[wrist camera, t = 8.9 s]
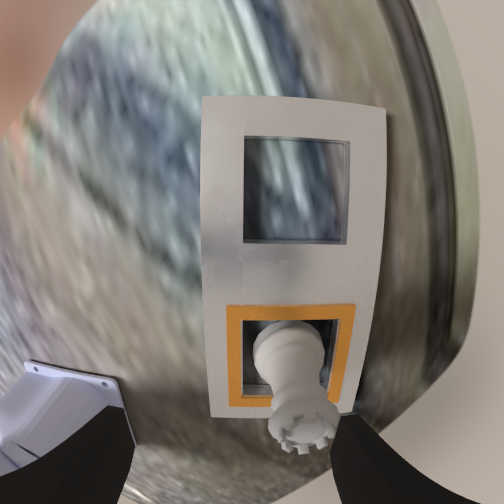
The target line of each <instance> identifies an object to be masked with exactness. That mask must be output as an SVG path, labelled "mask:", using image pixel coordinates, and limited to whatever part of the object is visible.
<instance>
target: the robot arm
mask: <svg viewBox="0 0 504 504" xmlns="http://www.w3.org/2000/svg"><path fill="white" fill-rule="evenodd" d="M24 366H25V369H26V371H27V372H26V373H25V374H24V375H23V376H22V377H21V378H20V379H19V380H18V381H17V382H16V383H15V384H14V385H13V386H12V387H11V388H10V389H9V390H8V391H7V392H6V393H5V394H4V395H3V396H2V397H1V398H0V504H117V502H118V499H119V497H120V494H121V492H122V489H123V486H124V484H125V481H126V478H127V476H128V473H129V470H130V467H131V463H132V459H133V454H134V449H135V448H136V446H137V443H136V441H135V438H134V435H133V432H132V429H131V426H130V423H129V420H128V417H127V414H126V410H125V407H124V404H123V400H122V397H121V393H120V390H119V386H118V383H117V381H116V380H114V379H113V378H109V377H103V376H97V375H92V374H86V373H81V372H76V371H71V370H67V369H62V368H58V367H54V366H49V365H45V364H41V363H37V362H34V361H30V360H26V361H25V362H24ZM104 382H105V383H107V384H105V383H104ZM330 458H331V464H332V470H333V476H334V479H335V483H336V486H337V489H338V492H339V496H340V499H341V502H342V504H480V503H477V502H474V501H472V500H469V499H466V498H464V497H462V496H460V495H458V494H456V493H454V492H452V491H450V490H448V489H446V488H444V487H442V486H441V485H439V484H437V483H435V482H434V481H433V480H431V479H429V478H428V477H426V476H425V475H423V474H422V473H421V472H419V471H418V470H417V469H416V468H414V467H413V466H412V465H410V464H409V463H408V462H407V461H406V460H404V459H403V458H402V457H401V456H400V455H399V454H398V453H397V452H396V451H394V450H393V449H392V448H391V447H390V446H389V445H388V444H387V443H386V442H385V441H384V440H383V439H382V438H381V437H380V436H379V435H378V434H377V433H376V432H375V431H374V430H373V429H372V428H371V427H370V426H369V425H368V424H367V423H366V422H365V421H364V420H363V419H362V418H361V417H360V416H359V415H358V414H356V415H348V416H341V419H340V422H339V426H338V429H337V432H336V435H335V439H334V442H333V445H332V448H331V451H330Z"/></svg>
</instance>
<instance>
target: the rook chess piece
mask: <svg viewBox="0 0 504 504" xmlns="http://www.w3.org/2000/svg"><path fill="white" fill-rule="evenodd" d="M324 354H325V350H324V347H323V343H322V340H321V337H320V334H319V332H318V331H317V330H316V329H315V328H314V327H313V326H312V325H310V324H308V323H306V322H303V321H300V320H281V321H279V322H276V323H273V324H270V325H269V326H267V327H266V328H265V329H264V330H263V331H262V332H260V333H259V334H258V336H257V338H256V340H255V342H254V344H253V358H254V365H255V367H256V369H257V371H258V373H259V375H260V376H261V378H263V379H264V380H265V381H266V382H267V383H268V384H270V385H271V388H272V391H273V394H274V396H273V398H272V399H271V409H272V410H273V412H274V413H273V414H272V416H271V417H270V419H269V422H268V430H269V432H270V433H271V435H272V437H273V438H275V439H277V440H278V443H281V447H282V449H283V450H285V451H286V452H288V453H290V452H291V451H292V450H293V447H297V448H298V454H299V455H301V454H309V448H308V447H309V446H312V445H315V444H316V445H317V448H318V449H319V450H321V449H323V448H325V447H326V446H328V441H327V437H328V438H335V434H336V429H335V427H336V425H337V423H338V420H339V416H340V414H339V412H338V409H337V406H336V405H334V404H333V403H332V402H330V401H329V400H327V399H328V395H327V392H326V390H325V388H323V387H322V386H321V385H320V381H319V373H320V370H321V368H322V366H323V361H324Z"/></svg>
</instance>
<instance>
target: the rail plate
mask: <svg viewBox="0 0 504 504" xmlns="http://www.w3.org/2000/svg"><path fill="white" fill-rule="evenodd" d="M244 139H276V140H298V141H314V142H327V143H338V144H344V156H343V198H342V219H341V236H340V241H334V240H271V239H243V206H244ZM386 171H387V134H386V109H385V108H379V107H373V106H367V105H360V104H354V103H346V102H338V101H330V100H320V99H309V98H296V97H279V96H202V120H201V170H200V213H201V265H202V293H203V315H204V333H205V349H206V364H207V377H208V389H209V401H210V412H211V417H221V418H270V417H271V416H272V414H273V413H274V412H273V410H272V409H271V399H272V398H273V396H274V394H273V391H272V388H271V385H270V384H268V385H243V320H320V319H333V320H332V328H331V335H330V342H329V349H328V356H327V362H326V369H325V375H324V381H323V382H320V385H321V386H322V387H323V388H325V390H326V392H327V395H328V399H327V400H329V401H330V402H332V403H333V404H334V405H336V406H337V409H338V412H339V413H346V412H351V411H352V408H353V404H354V400H355V396H356V393H357V389H358V385H359V380H360V376H361V372H362V368H363V363H364V359H365V354H366V349H367V344H368V339H369V334H370V329H371V323H372V317H373V311H374V305H375V299H376V292H377V285H378V278H379V270H380V261H381V252H382V242H383V230H384V217H385V200H386Z"/></svg>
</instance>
